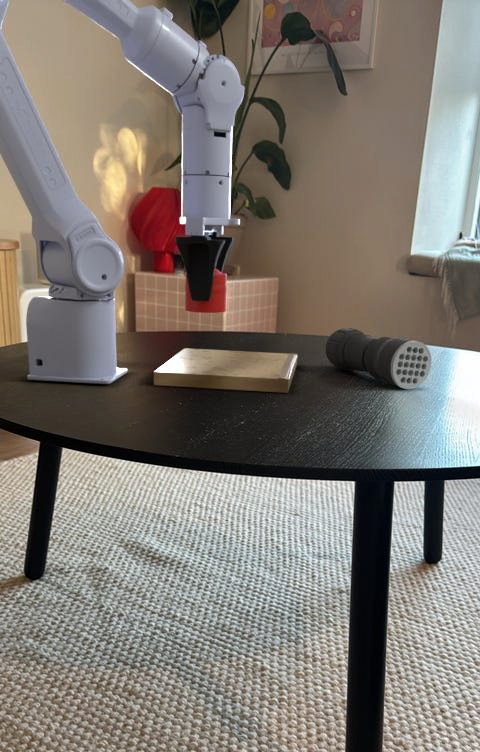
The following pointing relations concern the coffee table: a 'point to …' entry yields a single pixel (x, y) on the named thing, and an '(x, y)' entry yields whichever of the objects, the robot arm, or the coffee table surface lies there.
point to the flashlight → (380, 357)
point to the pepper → (217, 296)
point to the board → (228, 370)
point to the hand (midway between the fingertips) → (204, 298)
